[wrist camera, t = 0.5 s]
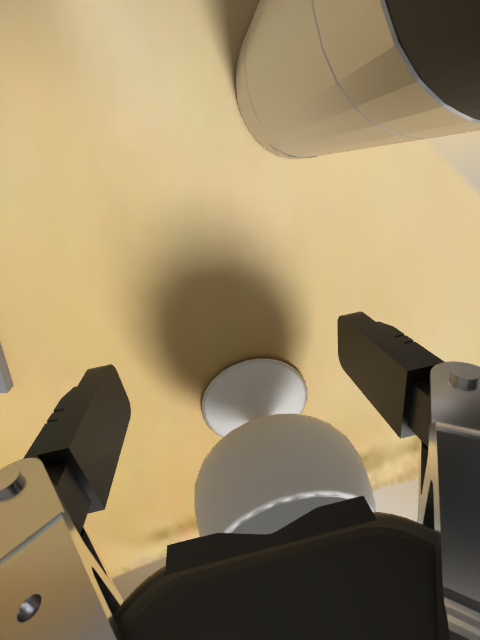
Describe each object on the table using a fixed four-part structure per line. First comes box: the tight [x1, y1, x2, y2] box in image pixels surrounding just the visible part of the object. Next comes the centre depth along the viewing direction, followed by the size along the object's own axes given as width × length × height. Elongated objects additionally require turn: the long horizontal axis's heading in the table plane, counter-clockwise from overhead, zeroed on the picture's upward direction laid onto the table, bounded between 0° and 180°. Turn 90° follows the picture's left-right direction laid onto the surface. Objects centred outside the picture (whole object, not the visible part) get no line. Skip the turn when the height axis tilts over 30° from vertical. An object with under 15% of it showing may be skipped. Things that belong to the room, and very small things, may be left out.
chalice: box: [195, 358, 376, 537], centre depth 27 cm, size 14×14×15 cm
